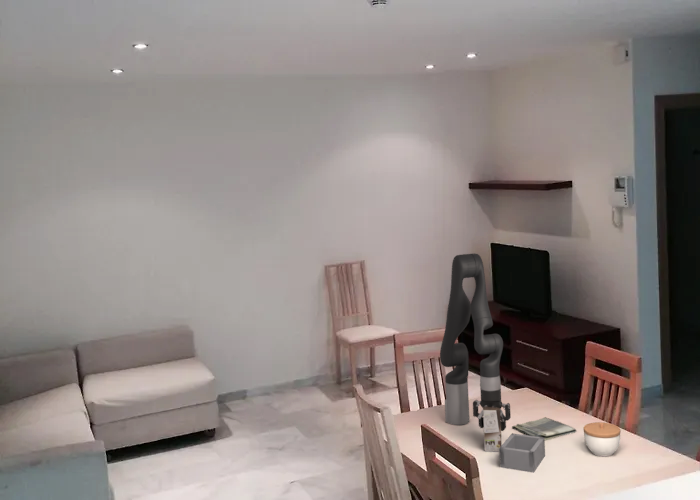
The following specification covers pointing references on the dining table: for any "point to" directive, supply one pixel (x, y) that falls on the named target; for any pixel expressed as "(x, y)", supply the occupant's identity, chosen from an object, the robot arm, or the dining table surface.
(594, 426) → the lidded bowl
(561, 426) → the dish towel
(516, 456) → the grey open box
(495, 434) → the coffee box
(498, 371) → the robot arm
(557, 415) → the dining table surface
